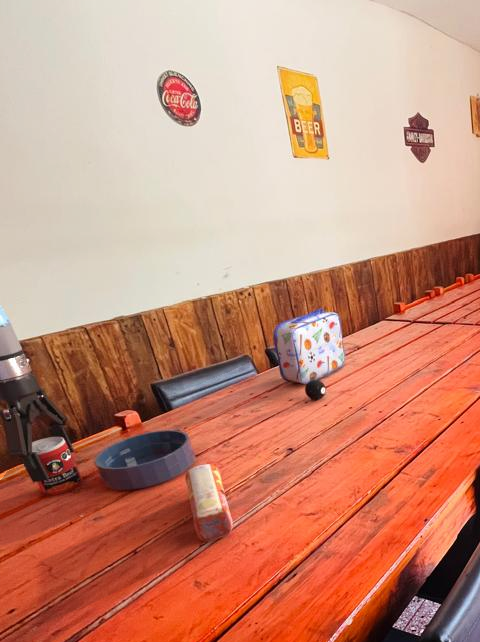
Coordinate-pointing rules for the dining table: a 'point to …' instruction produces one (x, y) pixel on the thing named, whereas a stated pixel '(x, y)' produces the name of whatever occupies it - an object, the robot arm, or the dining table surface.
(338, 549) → the dining table surface
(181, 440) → the bowl
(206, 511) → the snack package
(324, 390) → the billiard ball
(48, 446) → the canned food
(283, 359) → the lunch box
